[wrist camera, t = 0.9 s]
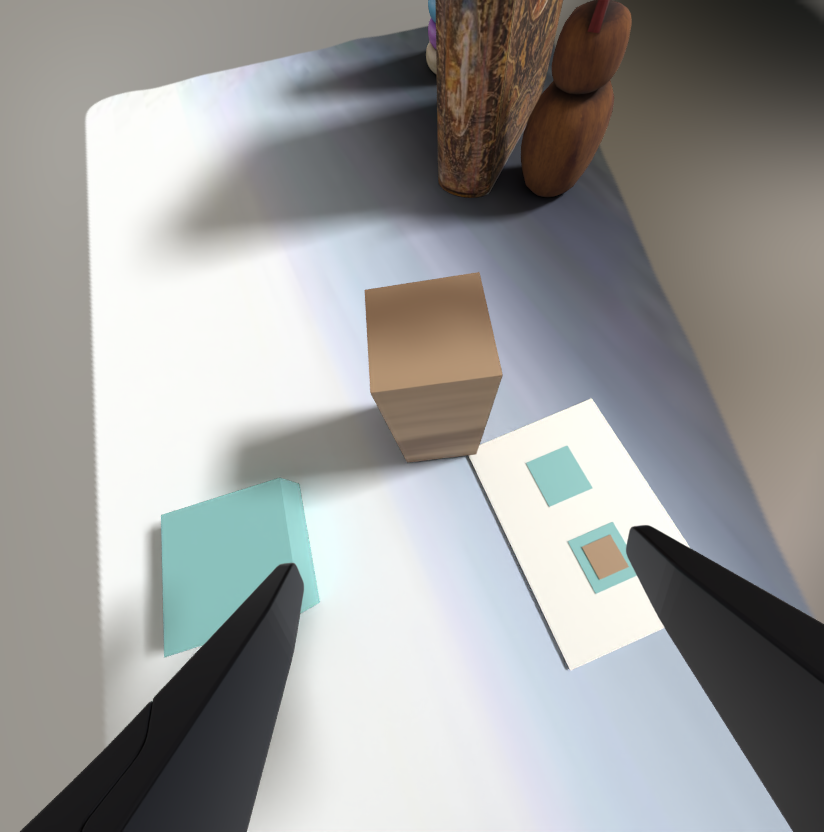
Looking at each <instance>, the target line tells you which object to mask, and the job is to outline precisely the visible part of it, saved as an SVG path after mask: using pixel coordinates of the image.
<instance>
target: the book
mask: <svg viewBox="0 0 824 832" xmlns="http://www.w3.org/2000/svg"><path fill="white" fill-rule="evenodd" d="M435 3H436V65H437V127H438V182H439V185H440V186H441V187H442V188H443V189H444V190H445V191H447V192H449V193H451V194H454V195H457V196H461V197H468V198H475V197H482V196H485V195H487V194H489V193H490V191H491V189H492V187H493V185H494V183H495V182H496V180H497V178H498V176H499V174H500V173H501V171H502V169H503V167H504V165H505V163H506V162H507V160H508V158H509V156H510V154H511V153H512V151H513V149H514V147H515V145H516V143H517V142H518V140H519V138H520V136H521V134H522V133H523V131H524V129H525V127H526V125H527V122H528V119H529V116H530V114H531V113H532V111H533V109H534V107H535V105H536V103H537V101H538V99H539V97H540V96H541V94H542V91H543V87H544V83H545V78H546V74H547V70H548V65H549V61H550V57H551V52H552V48H553V43H554V39H555V34H556V30H557V25H558V21H559V16H560V12H561V8H562V3H563V0H435Z"/></svg>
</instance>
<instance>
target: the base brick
mask: <svg viewBox="0 0 824 832" xmlns="http://www.w3.org/2000/svg"><path fill="white" fill-rule="evenodd" d="M161 534H162V579H163V623H164V657H167V656H171V655H174V654H177V653H180V652H183V651H186V650H189V649H192V648H195V647H198V646H202V645H204V644H205V643H206V642H207V640H208V639H209V638H210V637H211V636H212V635H213V634H214V633H215V632H216V631H217V630H218V629H219V628H220V627H221V626H222V624H223V623H224V622H225V621H226V620H227V619H228V618H229V617H230V616H231V615H232V614H233V613H234V612H235V611H236V610H237V608H238V607H239V606H240V605H241V604H242V603H243V602H244V601H245V600H246V599H247V598H248V597H249V596H250V595H251V594H252V592H253V591H254V590H255V589H256V588H257V587H258V586H259V585H260V584H261V583H262V582H263V581H264V580H265V579H266V578H267V577H268V575H269V574H270V573H271V572H272V571H273V570H274V569H275V568H276V567H277V566H278V565H280V564H283V563H295V564H296V565H297V568H298V570H299V572H300V575H301V577H302V579H303V582H304V594H303V600H302V606H301V612H300V614H301V613H302V612H304V611H306V610H308V609H309V608H311V607H313V606H314V605H316V604H318V603H320V601H319V595H318V589H317V584H316V578H315V572H314V566H313V561H312V555H311V549H310V543H309V538H308V532H307V526H306V520H305V515H304V509H303V503H302V497H301V492H300V486H299V484H298V483H295V482H292V481H289V480H286V479H283V478H277V479H274V480H270V481H267V482H264V483H261V484H258V485H255V486H252V487H248V488H245V489H242V490H239V491H236V492H233V493H229V494H226V495H223V496H220V497H217V498H214V499H211V500H207V501H204V502H201V503H198V504H195V505H192V506H188V507H185V508H182V509H179V510H176V511H173V512H170V513H166V514H163V515H161Z"/></svg>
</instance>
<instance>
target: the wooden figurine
mask: <svg viewBox="0 0 824 832" xmlns="http://www.w3.org/2000/svg"><path fill="white" fill-rule="evenodd" d="M630 29H631V14H630V12H629V10H628V9H627V8H626V7H625V6H623V5H622V4H621V3H618V2H615V1H612V0H594V1H590V2H587V3H585V4H583V5H581V6H579V7H577V8H576V9H575V10H574V11H573V12H572V14H571V15H570V17H569V18H568V19H567V21H566V22H565V24H564V26H563V29H562V31H561V33H560V35H559V39H558V41H557V45H556V49H555V52H554V56H553V62H552V76H553V79H554V81H553V82H552V83H551V84H550V85H549V87H548V88H547V89H546V90H545V91H544V92H543V94H542V95H541V96H540V97H539V99H538V101H537V103H536V105H535V107H534V109H533V111H532V113H531V114H530V116H529V119H528V122H527V125H526V128H525V131H524V135H523V140H522V145H521V164H522V171H523V175H524V179H525V184H526V186H527V187H528V188H529V189H530V190H531V191H532V192H533V193H535V194H537V195H538V196H543V197H552V196H557V195H559V194H562V193H564V192H566V191H567V190H569V189H570V188H572V187H573V186H574V184H575V183H576V182H577V180H578V179H579V178H580V177H581V175H582V174H583V173H584V171H585V170H586V168H587V167H588V165H589V164H590V162H591V160H592V158H593V156H594V155H595V153H596V151H597V149H598V147H599V145H600V143H601V141H602V139H603V136H604V134H605V131H606V129H607V126H608V124H609V120H610V117H611V114H612V110H613V103H614V94H613V89H612V85H611V81H610V79H611V78H612V77H613V75H614V74H615V72H616V71H617V69H618V68H619V66H620V63H621V61H622V59H623V56H624V53H625V50H626V47H627V44H628V40H629V35H630Z"/></svg>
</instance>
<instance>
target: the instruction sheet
mask: <svg viewBox="0 0 824 832" xmlns="http://www.w3.org/2000/svg"><path fill="white" fill-rule="evenodd" d="M468 456H469V458H470V460H471V462H472V464H473V466H474V468H475V470H476V473H477V475H478V477H479V479H480V481H481V483H482V485H483V487H484V490H485V492H486V494H487V496H488V498H489V500H490V502H491V504H492V506H493V509H494V511H495V513H496V515H497V517H498V519H499V521H500V523H501V525H502V528H503V530H504V532H505V534H506V536H507V538H508V540H509V542H510V544H511V547H512V549H513V551H514V553H515V555H516V557H517V559H518V561H519V564H520V566H521V568H522V570H523V572H524V574H525V576H526V578H527V580H528V583H529V585H530V587H531V589H532V591H533V593H534V595H535V597H536V599H537V602H538V604H539V606H540V608H541V610H542V612H543V614H544V616H545V619H546V621H547V623H548V625H549V627H550V629H551V631H552V633H553V635H554V638H555V640H556V642H557V644H558V646H559V648H560V650H561V652H562V654H563V657H564V659H565V661H566V663H567V665H568V667H569V669H570V670H573V669H575V668H577V667H580V666H582V665H584V664H586V663H588V662H590V661H593V660H595V659H597V658H599V657H601V656H604V655H606V654H608V653H610V652H612V651H615V650H617V649H619V648H621V647H623V646H626V645H628V644H630V643H632V642H634V641H637V640H639V639H641V638H643V637H645V636H648V635H650V634H652V633H654V632H656V631H659V630H661V629H663V628H664V626H663V624H662V623H661V621H660V619H659V618H658V616H657V614H656V612H655V610H654V608H653V606H652V604H651V603H650V601H649V599H648V597H647V595H646V593H645V591H644V589H643V587H642V585H641V583H640V581H639V579H638V577H637V575H636V573H635V571H634V569H633V567H632V565H631V563H630V561H629V559H628V557H627V554H626V545H627V540H628V535H629V530H630V528H631V527H633V526H639V525H649V526H652V527H654V528H655V529H657V530H659V531H661V532H663V533H664V534H666V535H668V536H670V537H671V538H673V539H675V540H677V541H678V542H680V543H682V544H684V545H685V546H687V547H689V545H688V544H687V542H686V541H685V539H684V538H683V536H682V535H681V533H680V532H679V530H678V529H677V527H676V526H675V524H674V523H673V521H672V520H671V518H670V517H669V515H668V514H667V512H666V511H665V509H664V508H663V506H662V504H661V503H660V501H659V500H658V498H657V497H656V495H655V494H654V492H653V491H652V489H651V488H650V486H649V485H648V483H647V482H646V480H645V479H644V477H643V476H642V474H641V473H640V471H639V470H638V468H637V467H636V465H635V464H634V462H633V460H632V459H631V457H630V456H629V454H628V453H627V451H626V450H625V448H624V447H623V445H622V444H621V442H620V441H619V439H618V438H617V436H616V435H615V433H614V432H613V430H612V429H611V427H610V426H609V424H608V423H607V421H606V419H605V418H604V416H603V415H602V413H601V412H600V410H599V409H598V407H597V406H596V404H595V403H594V401H593V400H592V398H591V399H589V400H587V401H584V402H582V403H580V404H577V405H575V406H572V407H570V408H568V409H565V410H563V411H560V412H558V413H556V414H553V415H551V416H548V417H546V418H544V419H541V420H539V421H536V422H534V423H532V424H529V425H527V426H524V427H522V428H520V429H517V430H515V431H512V432H510V433H508V434H505V435H503V436H500V437H498V438H496V439H493V440H491V441H488V442H486V443H484V444H481V445H479V448H478V451H477V454H475V455H468ZM689 548H690V547H689Z"/></svg>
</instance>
